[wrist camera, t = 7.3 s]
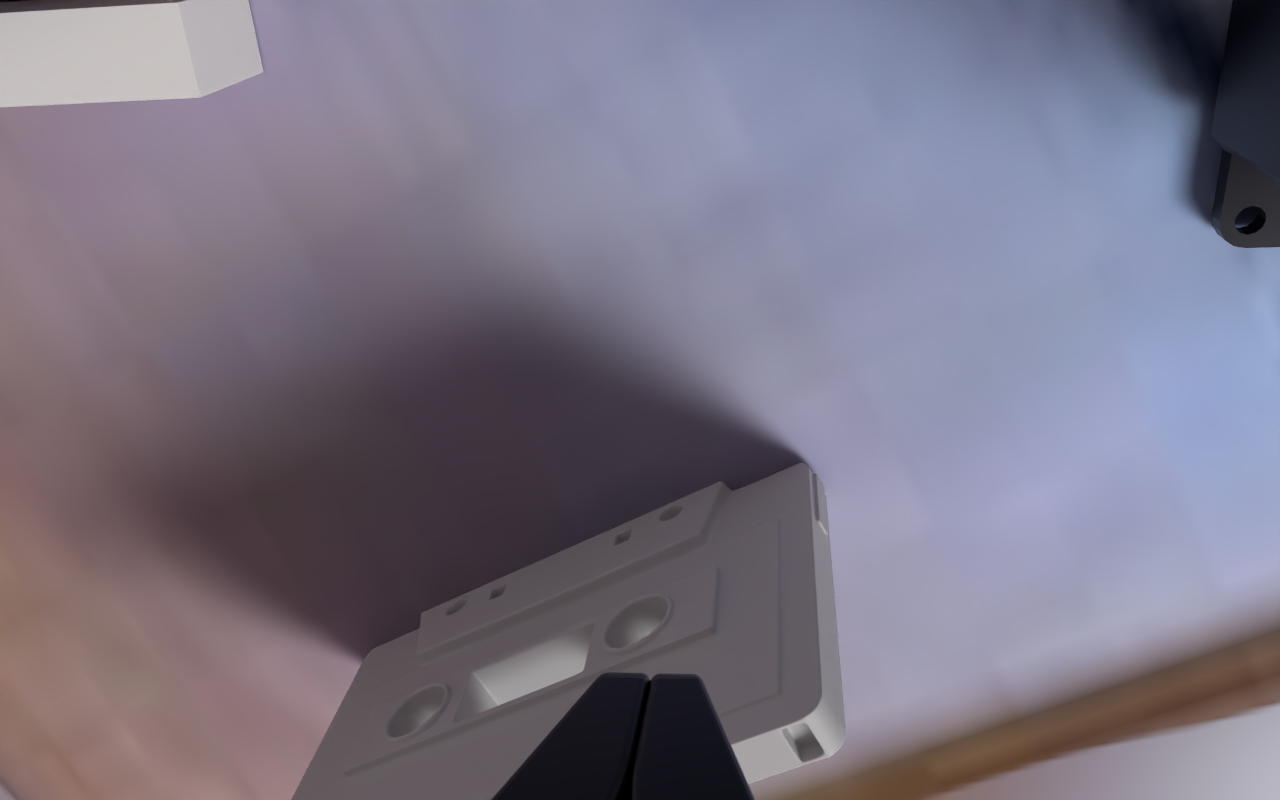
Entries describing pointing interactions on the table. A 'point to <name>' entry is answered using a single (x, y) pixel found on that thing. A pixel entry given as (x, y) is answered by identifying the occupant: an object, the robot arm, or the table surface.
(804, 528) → the cassette
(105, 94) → the u rest
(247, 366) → the table surface
